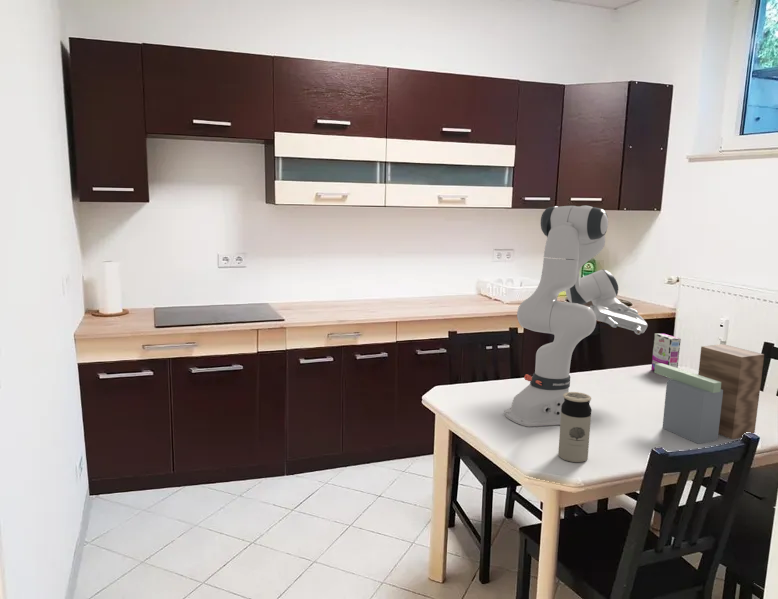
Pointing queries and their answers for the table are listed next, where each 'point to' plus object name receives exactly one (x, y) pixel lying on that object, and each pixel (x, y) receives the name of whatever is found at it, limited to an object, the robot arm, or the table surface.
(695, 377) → the rail
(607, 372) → the table surface
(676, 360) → the candy bar box
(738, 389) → the walnut stand
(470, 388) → the table surface
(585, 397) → the travel mug
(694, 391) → the grey pedestal
